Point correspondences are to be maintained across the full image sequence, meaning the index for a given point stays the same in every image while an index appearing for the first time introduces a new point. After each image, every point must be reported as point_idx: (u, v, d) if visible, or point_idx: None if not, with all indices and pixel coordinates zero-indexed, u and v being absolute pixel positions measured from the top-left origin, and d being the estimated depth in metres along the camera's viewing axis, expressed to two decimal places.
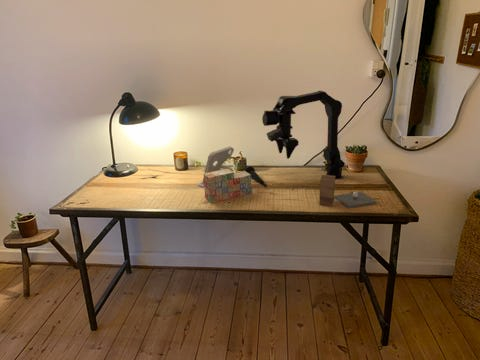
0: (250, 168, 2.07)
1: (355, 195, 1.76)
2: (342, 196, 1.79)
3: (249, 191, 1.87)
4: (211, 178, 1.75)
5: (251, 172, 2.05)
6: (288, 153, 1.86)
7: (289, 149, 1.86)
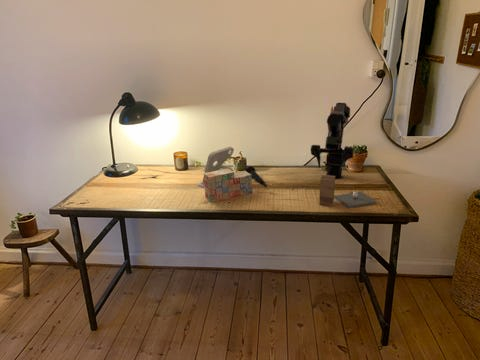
0: (250, 168, 2.07)
1: (355, 195, 1.76)
2: (342, 196, 1.79)
3: (249, 191, 1.87)
4: (211, 178, 1.76)
5: (251, 172, 2.05)
6: (343, 163, 1.77)
7: (344, 159, 1.78)
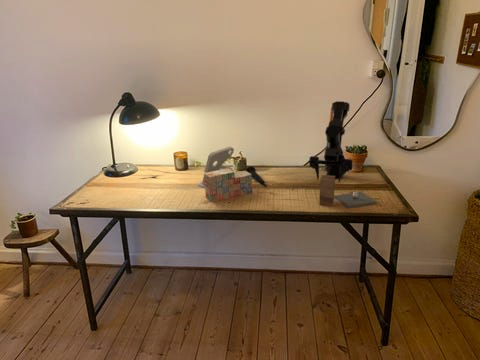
0: (251, 168, 2.07)
1: (355, 195, 1.76)
2: (342, 196, 1.79)
3: (250, 191, 1.88)
4: (212, 177, 1.76)
5: (252, 172, 2.05)
6: (342, 175, 1.73)
7: (343, 171, 1.74)
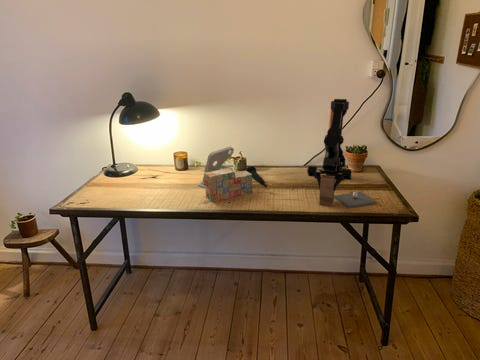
0: (251, 168, 2.07)
1: (355, 195, 1.76)
2: (342, 196, 1.79)
3: (250, 190, 1.88)
4: (212, 177, 1.76)
5: (252, 172, 2.05)
6: (337, 185, 1.72)
7: None
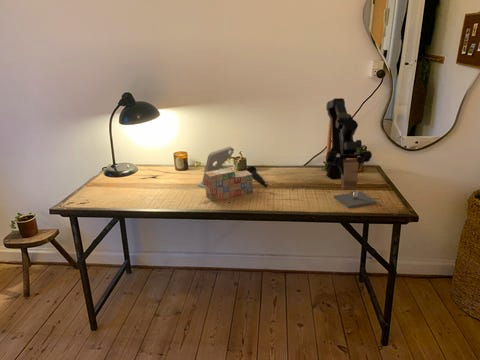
0: (251, 168, 2.07)
1: (355, 195, 1.76)
2: (342, 196, 1.79)
3: (250, 190, 1.88)
4: (212, 177, 1.77)
5: (252, 172, 2.05)
6: None
7: None
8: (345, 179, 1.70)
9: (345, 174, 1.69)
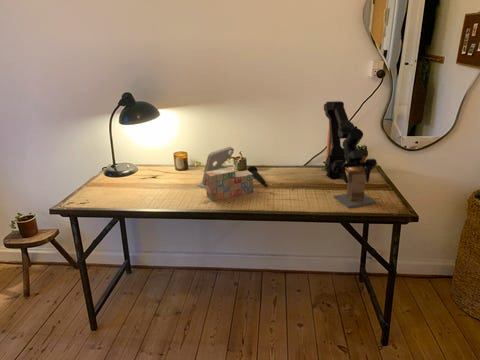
0: (252, 168, 2.07)
1: None
2: (342, 196, 1.79)
3: (251, 190, 1.88)
4: (212, 176, 1.77)
5: (253, 172, 2.05)
6: None
7: None
8: (353, 191, 1.73)
9: (353, 186, 1.72)
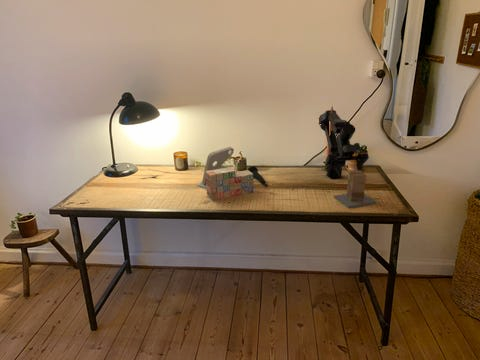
0: (253, 168, 2.07)
1: None
2: (342, 196, 1.79)
3: (251, 190, 1.88)
4: (212, 176, 1.78)
5: (253, 172, 2.05)
6: None
7: None
8: (353, 191, 1.73)
9: (353, 186, 1.72)
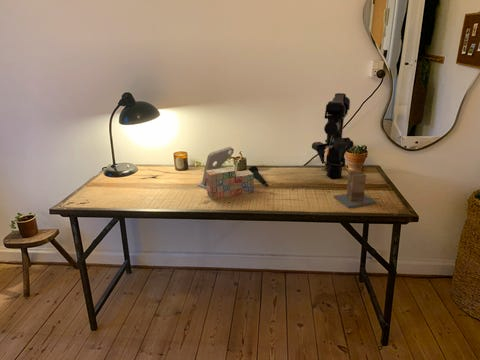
0: (253, 168, 2.07)
1: None
2: (342, 196, 1.79)
3: (251, 190, 1.88)
4: (212, 175, 1.79)
5: (254, 172, 2.05)
6: None
7: None
8: (353, 191, 1.73)
9: (353, 186, 1.72)
